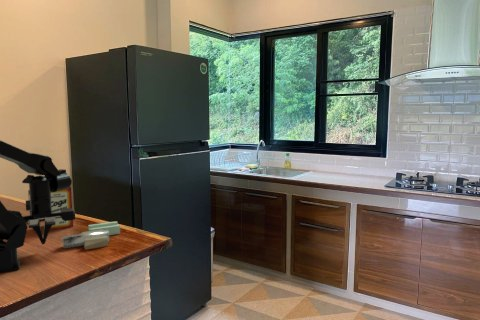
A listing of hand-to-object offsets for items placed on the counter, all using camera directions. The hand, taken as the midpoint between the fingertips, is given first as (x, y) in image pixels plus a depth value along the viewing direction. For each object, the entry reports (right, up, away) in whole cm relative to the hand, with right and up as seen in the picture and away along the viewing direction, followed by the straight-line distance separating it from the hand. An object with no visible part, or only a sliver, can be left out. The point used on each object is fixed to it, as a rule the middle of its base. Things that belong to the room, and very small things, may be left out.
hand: (43, 243), depth 113 cm
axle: (+11, -2, +7) cm, 13 cm away
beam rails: (+13, -2, +8) cm, 15 cm away
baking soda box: (-8, +1, +26) cm, 27 cm away
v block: (+13, 0, +18) cm, 22 cm away
